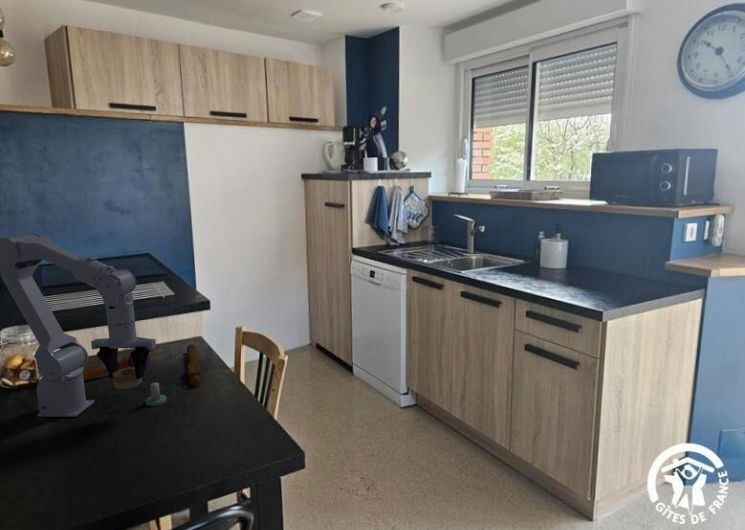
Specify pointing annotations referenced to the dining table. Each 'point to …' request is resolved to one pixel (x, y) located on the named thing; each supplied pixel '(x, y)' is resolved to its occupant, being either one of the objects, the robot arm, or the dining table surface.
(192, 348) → the wooden baluster
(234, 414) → the dining table surface
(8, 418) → the dining table surface
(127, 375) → the ring
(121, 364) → the kendama
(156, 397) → the toy mushroom
